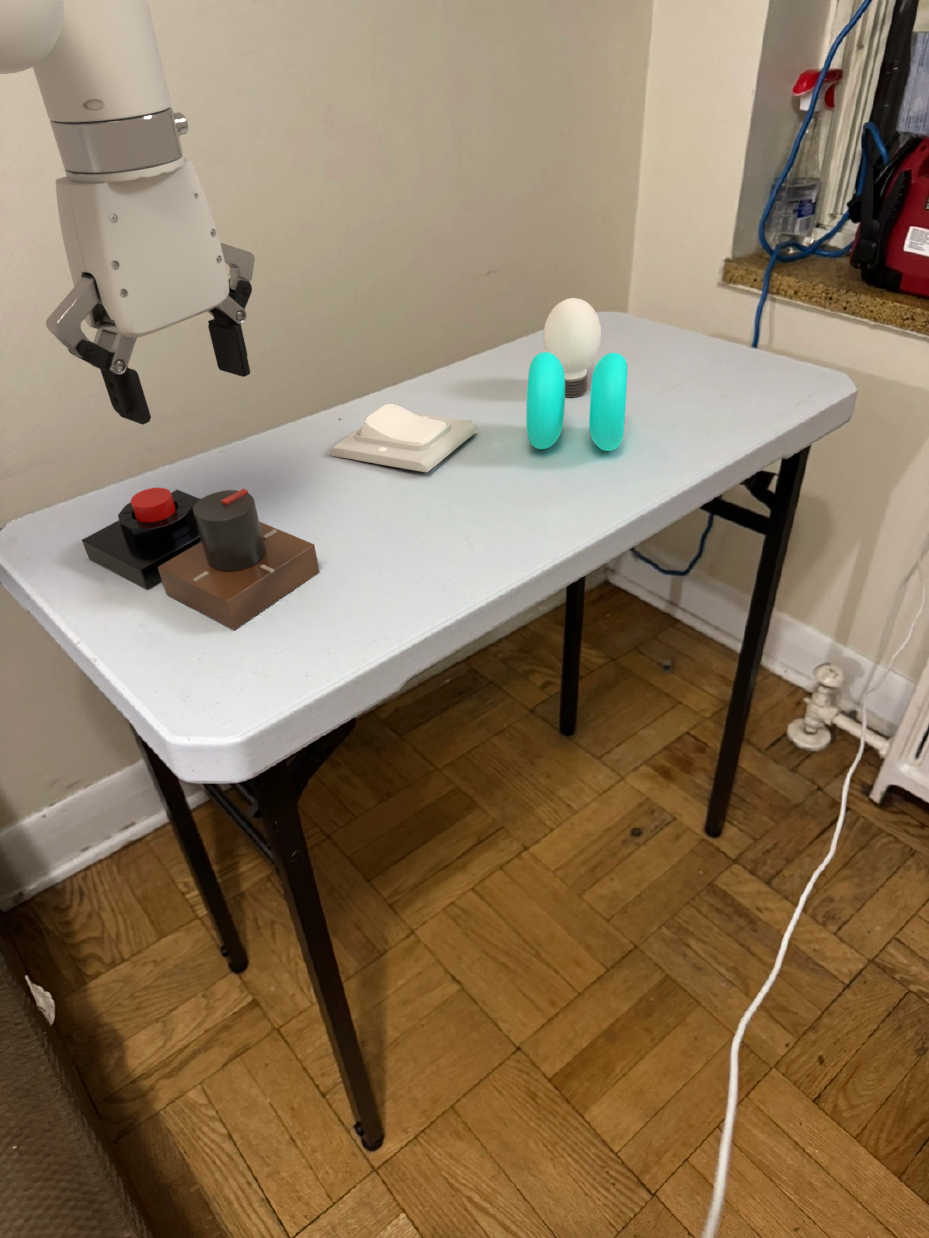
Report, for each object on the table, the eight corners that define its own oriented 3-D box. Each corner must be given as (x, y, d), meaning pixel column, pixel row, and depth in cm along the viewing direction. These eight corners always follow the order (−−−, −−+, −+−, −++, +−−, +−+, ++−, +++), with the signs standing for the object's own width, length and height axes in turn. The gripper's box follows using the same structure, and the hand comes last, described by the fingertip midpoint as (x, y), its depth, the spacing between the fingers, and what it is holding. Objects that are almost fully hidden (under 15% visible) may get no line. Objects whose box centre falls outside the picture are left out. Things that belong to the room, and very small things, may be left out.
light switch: (380, 388, 100) (475, 400, 94) (385, 421, 103) (479, 435, 97) (323, 426, 93) (422, 442, 87) (330, 461, 96) (427, 479, 90)
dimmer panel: (235, 631, 71) (226, 600, 69) (165, 594, 76) (155, 565, 74) (320, 572, 77) (315, 543, 75) (251, 542, 82) (244, 513, 80)
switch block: (147, 590, 76) (134, 552, 74) (88, 559, 81) (74, 522, 78) (242, 534, 83) (233, 497, 81) (182, 508, 88) (172, 472, 85)
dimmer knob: (233, 578, 72) (219, 523, 69) (195, 559, 74) (179, 506, 71) (277, 550, 75) (266, 496, 72) (239, 533, 77) (226, 481, 74)
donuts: (534, 423, 99) (534, 337, 93) (622, 425, 97) (628, 338, 91) (525, 465, 91) (524, 374, 85) (621, 468, 90) (628, 376, 83)
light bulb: (597, 402, 102) (602, 309, 96) (540, 401, 103) (541, 309, 97) (599, 380, 108) (603, 289, 101) (545, 379, 109) (546, 289, 102)
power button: (152, 528, 78) (146, 511, 77) (128, 516, 80) (122, 500, 79) (184, 510, 80) (179, 494, 79) (160, 500, 82) (154, 483, 81)
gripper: (188, 120, 63) (239, 348, 74) (-37, 169, 53) (60, 428, 63) (258, 125, 59) (301, 365, 70) (32, 179, 49) (123, 452, 59)
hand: (187, 395), depth 67 cm, fingers open, 9 cm apart
